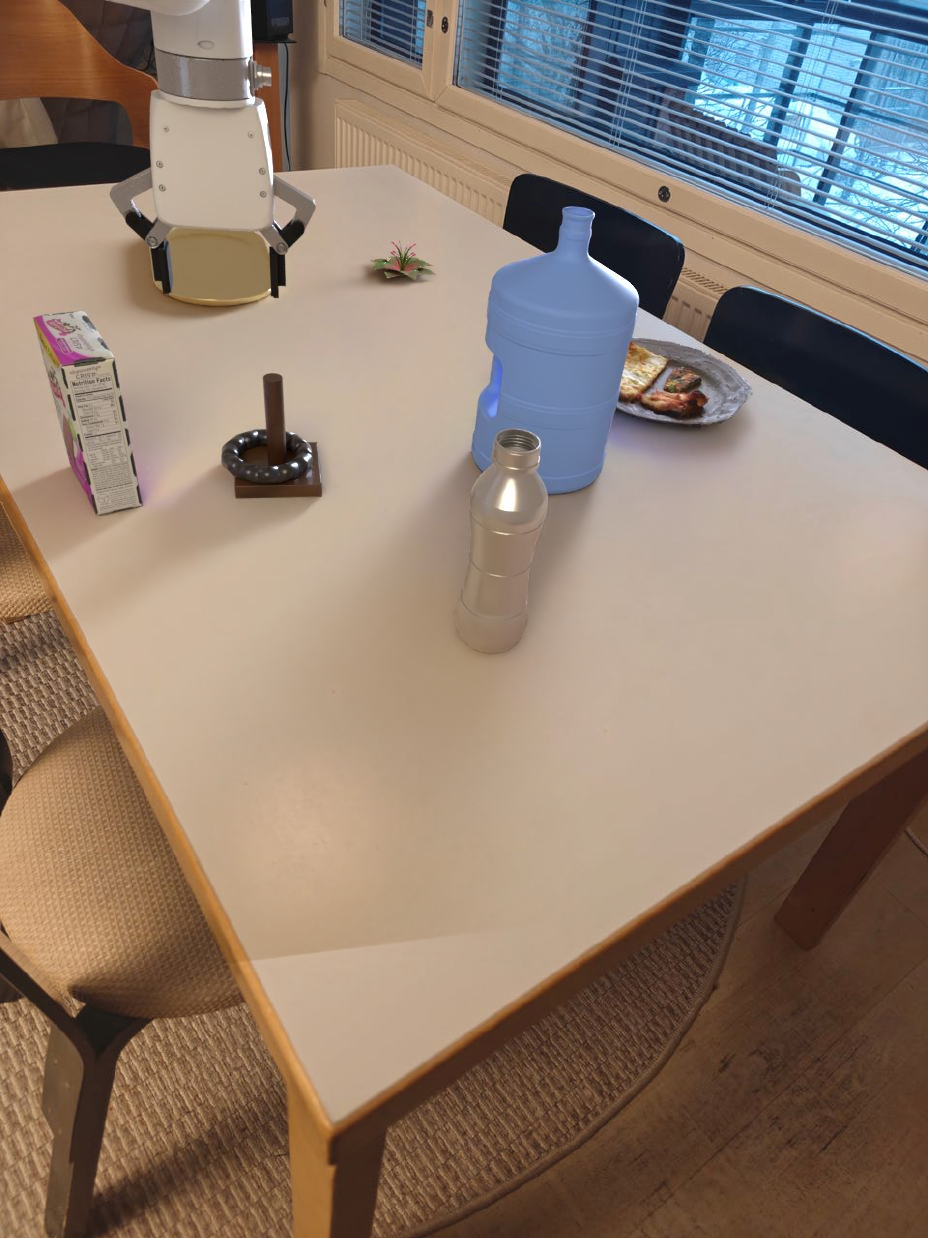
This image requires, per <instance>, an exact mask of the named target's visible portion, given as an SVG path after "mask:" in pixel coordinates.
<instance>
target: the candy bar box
mask: <svg viewBox="0 0 928 1238" xmlns="http://www.w3.org/2000/svg"><path fill="white" fill-rule="evenodd" d="M32 321H33V323H34V327H35V331H36V335H37V339H38V344H39V348H40V352H41V355H42V361H43V363H44V367H45V372H46V375H47V379H48V383H49V387H50V391H51V395H52V399H53V403H54V407H55V410H56V411H55V412H56V414H57V419H58V422H59V426H60V430H61V434H62V438H63V442H64V446H65V448H66V449H65V450H66V455H67V457H68V463H69V465H70V467H71V469H72V470H73V473H74V475H75V477H76V479H77V480H78V483H79V484H80V486H81V488H82V490H83V492H84V494H85V496H86V498H87V500H88V502H89V504H90V505H91V508H92V510H93V511H94V514H95V516H97V517H98V516H106V515H110V514H114V513H119V512H123V511H126V510H130V509H131V510H132V509H135V508H140V507H143V506H144V504H143V499H142V494H141V489H140V483H139V477H138V473H137V468H136V463H135V457H134V453H133V446H132V442H131V437H130V431H129V427H128V421H127V416H126V411H125V406H124V399H123V396H122V390H121V386H120V381H119V374H118V369H117V364H116V357H115V355H114V354H113V353H112V352H111V350H110V348H109V347H108V345H107V344H106V342H105V340H104V339H103V337H102V336H101V335H100V333H99V331H98V330H97V329H96V327H95V326H94V324H93V322H92V321H91V319H90V318H89V316H88V315H87V314H86V312H85V311H84V310H76V311H68V312H58V313H52V314H49V313H48V314H47V313H45V314H40V315H37V316H33V317H32Z"/></svg>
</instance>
